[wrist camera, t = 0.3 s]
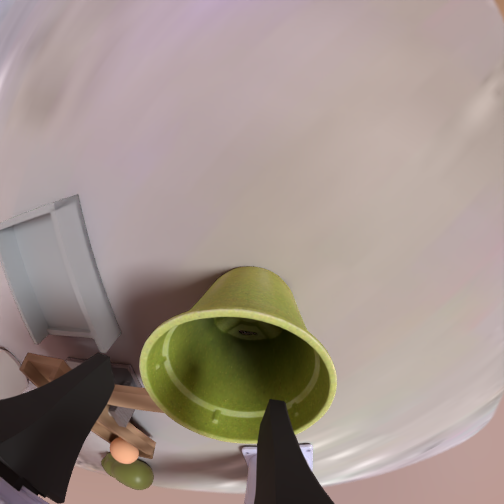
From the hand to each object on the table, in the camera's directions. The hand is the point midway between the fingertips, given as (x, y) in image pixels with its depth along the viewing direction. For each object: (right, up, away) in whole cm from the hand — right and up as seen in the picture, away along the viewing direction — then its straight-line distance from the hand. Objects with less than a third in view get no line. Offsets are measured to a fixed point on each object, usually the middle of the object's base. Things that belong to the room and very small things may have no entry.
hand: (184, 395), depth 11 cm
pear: (-17, -27, +22) cm, 39 cm away
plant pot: (+3, +3, +9) cm, 10 cm away
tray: (-14, +4, +10) cm, 18 cm away
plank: (-9, -9, +11) cm, 17 cm away
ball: (-12, -17, +13) cm, 24 cm away
